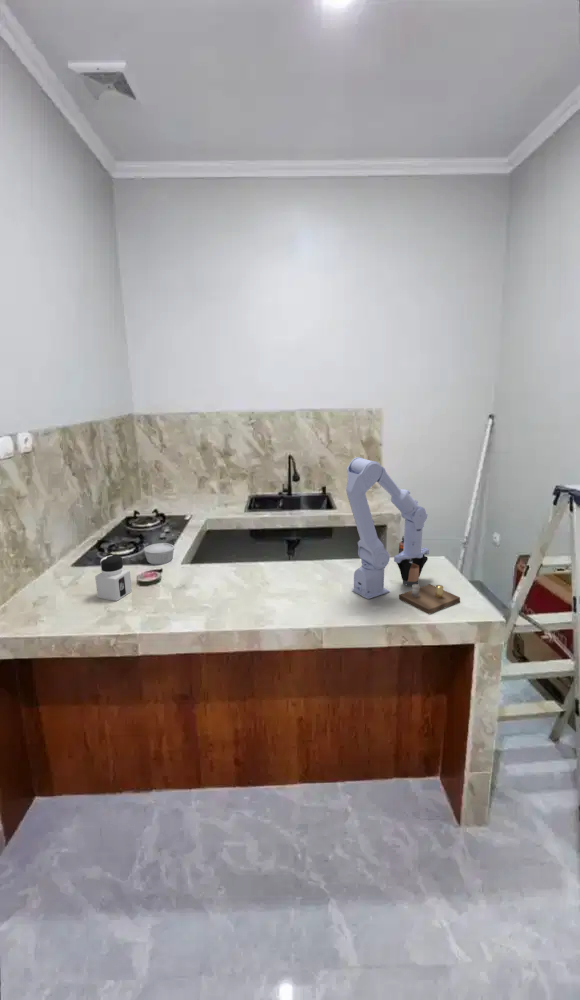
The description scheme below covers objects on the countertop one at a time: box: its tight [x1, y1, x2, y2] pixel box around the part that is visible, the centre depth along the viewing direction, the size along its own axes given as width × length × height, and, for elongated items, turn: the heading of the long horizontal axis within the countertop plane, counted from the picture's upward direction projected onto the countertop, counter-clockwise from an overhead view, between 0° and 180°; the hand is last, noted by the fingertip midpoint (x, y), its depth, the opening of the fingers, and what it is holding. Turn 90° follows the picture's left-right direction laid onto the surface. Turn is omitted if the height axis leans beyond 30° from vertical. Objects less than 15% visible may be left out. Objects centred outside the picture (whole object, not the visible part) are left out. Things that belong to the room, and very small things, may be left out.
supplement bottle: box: [398, 535, 413, 563], centre depth 173 cm, size 6×6×11 cm
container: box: [95, 554, 133, 602], centre depth 152 cm, size 8×8×13 cm
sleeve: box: [402, 563, 420, 587], centre depth 159 cm, size 5×5×6 cm
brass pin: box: [435, 584, 444, 598], centre depth 146 cm, size 2×2×5 cm
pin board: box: [398, 583, 461, 615], centre depth 147 cm, size 14×12×5 cm
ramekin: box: [143, 542, 175, 565], centre depth 183 cm, size 11×11×5 cm
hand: (410, 578), depth 160 cm, fingers closed on sleeve, 5 cm apart
